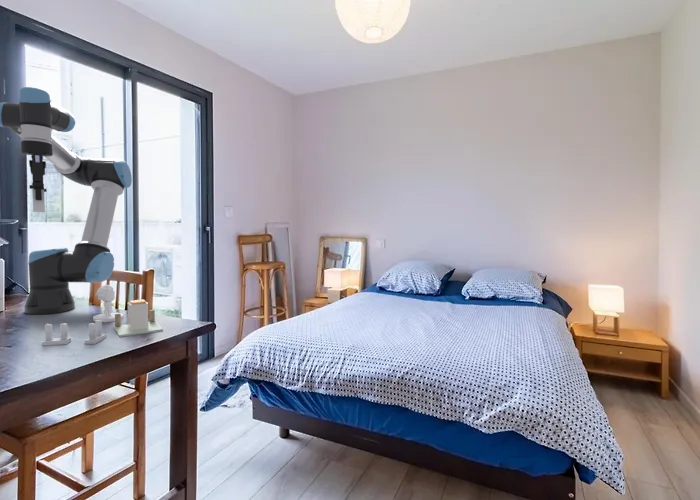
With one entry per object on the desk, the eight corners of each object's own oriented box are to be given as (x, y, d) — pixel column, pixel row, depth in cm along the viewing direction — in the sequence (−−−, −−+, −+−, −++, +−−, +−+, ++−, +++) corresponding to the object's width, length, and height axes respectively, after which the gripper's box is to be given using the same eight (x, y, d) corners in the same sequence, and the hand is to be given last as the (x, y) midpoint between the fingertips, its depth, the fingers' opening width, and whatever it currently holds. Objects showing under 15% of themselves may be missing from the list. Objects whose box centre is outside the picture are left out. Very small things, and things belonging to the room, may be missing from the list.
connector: (128, 326, 126) (127, 300, 125) (145, 324, 129) (145, 298, 128) (130, 330, 122) (130, 303, 121) (148, 328, 125) (148, 301, 124)
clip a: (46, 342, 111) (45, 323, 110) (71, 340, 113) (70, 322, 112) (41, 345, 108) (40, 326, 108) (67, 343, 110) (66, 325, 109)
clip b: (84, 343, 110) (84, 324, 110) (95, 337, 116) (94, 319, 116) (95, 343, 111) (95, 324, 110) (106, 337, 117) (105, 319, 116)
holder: (114, 327, 127) (113, 313, 126) (154, 322, 134) (154, 309, 134) (119, 337, 117) (119, 321, 117) (162, 330, 124) (162, 316, 124)
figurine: (109, 323, 132) (108, 287, 131) (86, 321, 134) (85, 286, 133) (129, 316, 141) (128, 283, 140) (107, 314, 143) (107, 282, 142)
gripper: (22, 145, 127) (25, 211, 128) (18, 133, 107) (21, 211, 109) (51, 148, 131) (53, 212, 133) (53, 137, 112) (55, 212, 113)
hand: (39, 212), depth 121 cm, fingers open, 13 cm apart
